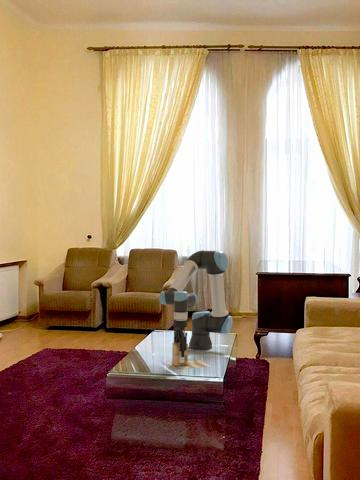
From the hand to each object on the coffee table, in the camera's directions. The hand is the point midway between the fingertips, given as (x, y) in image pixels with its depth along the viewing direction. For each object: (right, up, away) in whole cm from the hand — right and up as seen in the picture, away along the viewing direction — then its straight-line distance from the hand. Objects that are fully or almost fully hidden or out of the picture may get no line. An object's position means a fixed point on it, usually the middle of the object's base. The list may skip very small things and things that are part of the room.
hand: (179, 361), depth 301 cm
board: (+4, -3, +2) cm, 6 cm away
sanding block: (0, -2, 0) cm, 2 cm away
